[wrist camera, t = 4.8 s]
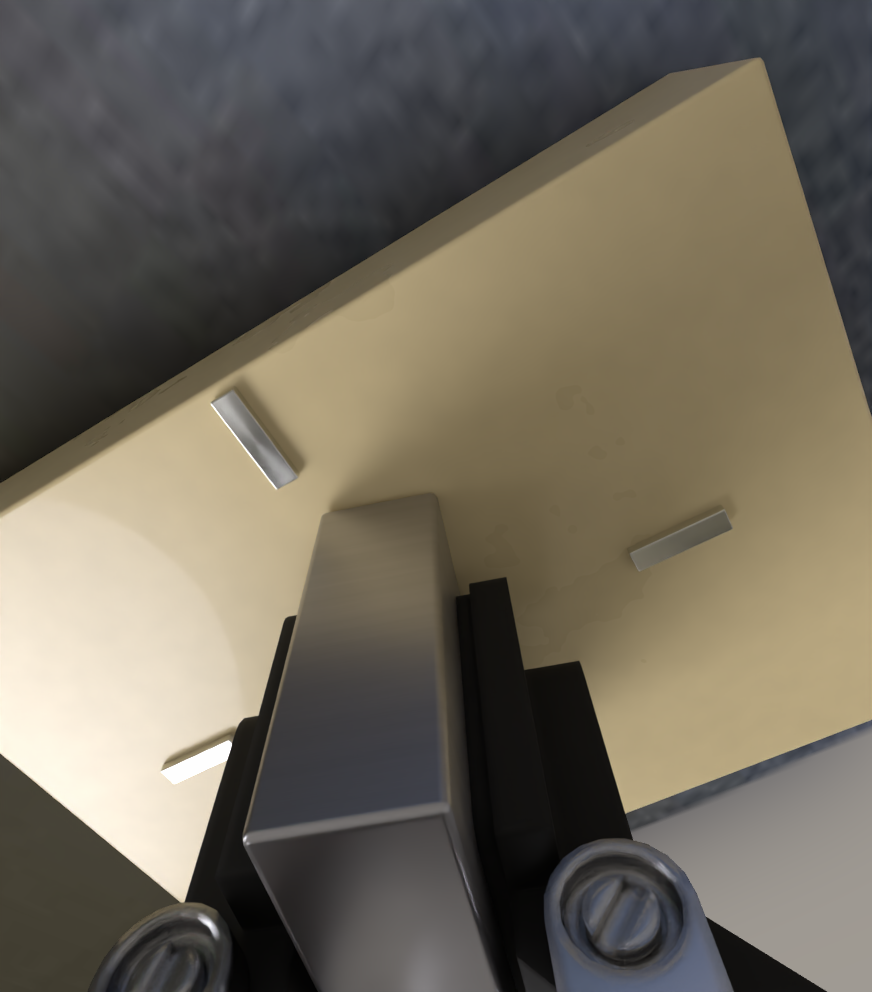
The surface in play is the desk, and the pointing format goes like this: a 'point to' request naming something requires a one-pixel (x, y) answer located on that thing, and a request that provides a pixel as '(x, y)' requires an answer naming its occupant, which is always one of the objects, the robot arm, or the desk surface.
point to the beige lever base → (484, 477)
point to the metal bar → (376, 768)
